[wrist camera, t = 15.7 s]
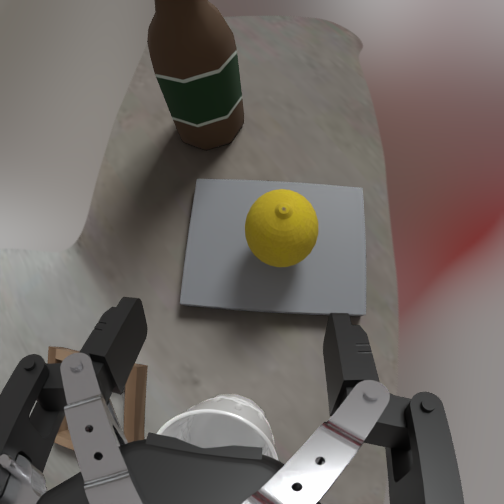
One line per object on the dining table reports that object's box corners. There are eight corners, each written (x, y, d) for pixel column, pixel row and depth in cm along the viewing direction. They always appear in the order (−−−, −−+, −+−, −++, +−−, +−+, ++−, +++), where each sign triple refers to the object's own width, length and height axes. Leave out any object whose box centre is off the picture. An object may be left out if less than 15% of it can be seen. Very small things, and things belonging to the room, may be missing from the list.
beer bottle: (203, 165, 32) (131, -53, 9) (165, 126, 34) (89, -55, 11) (259, 125, 33) (246, -86, 10) (217, 91, 35) (181, -89, 12)
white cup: (246, 371, 26) (234, 386, 17) (292, 442, 24) (303, 488, 15) (171, 410, 26) (126, 438, 16) (216, 478, 24) (194, 531, 14)
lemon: (235, 239, 28) (223, 201, 21) (285, 204, 29) (290, 157, 21) (273, 289, 27) (276, 268, 19) (323, 251, 28) (344, 216, 20)
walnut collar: (60, 435, 25) (47, 439, 22) (62, 347, 28) (48, 346, 25) (143, 461, 24) (134, 470, 22) (147, 365, 27) (137, 367, 24)
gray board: (184, 305, 28) (179, 303, 27) (200, 185, 32) (197, 178, 30) (361, 316, 27) (365, 314, 26) (358, 194, 31) (362, 188, 29)
